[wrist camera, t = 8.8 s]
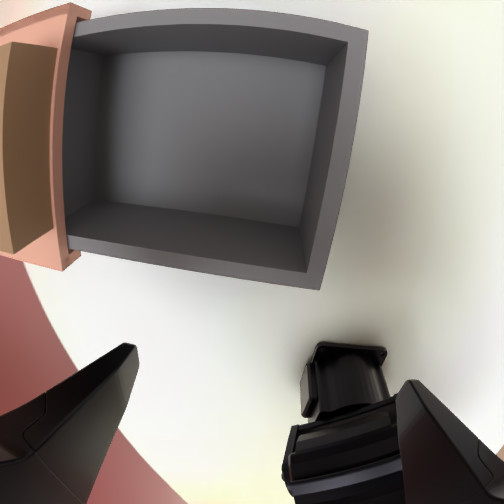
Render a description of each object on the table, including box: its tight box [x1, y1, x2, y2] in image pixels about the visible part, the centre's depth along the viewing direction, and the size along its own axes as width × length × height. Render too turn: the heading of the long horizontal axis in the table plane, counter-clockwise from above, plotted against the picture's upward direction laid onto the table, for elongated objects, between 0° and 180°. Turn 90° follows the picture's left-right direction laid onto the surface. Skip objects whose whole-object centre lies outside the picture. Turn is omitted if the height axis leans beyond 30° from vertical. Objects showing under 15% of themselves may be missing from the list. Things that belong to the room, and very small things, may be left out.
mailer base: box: [62, 8, 368, 290], centre depth 15 cm, size 16×12×7 cm
